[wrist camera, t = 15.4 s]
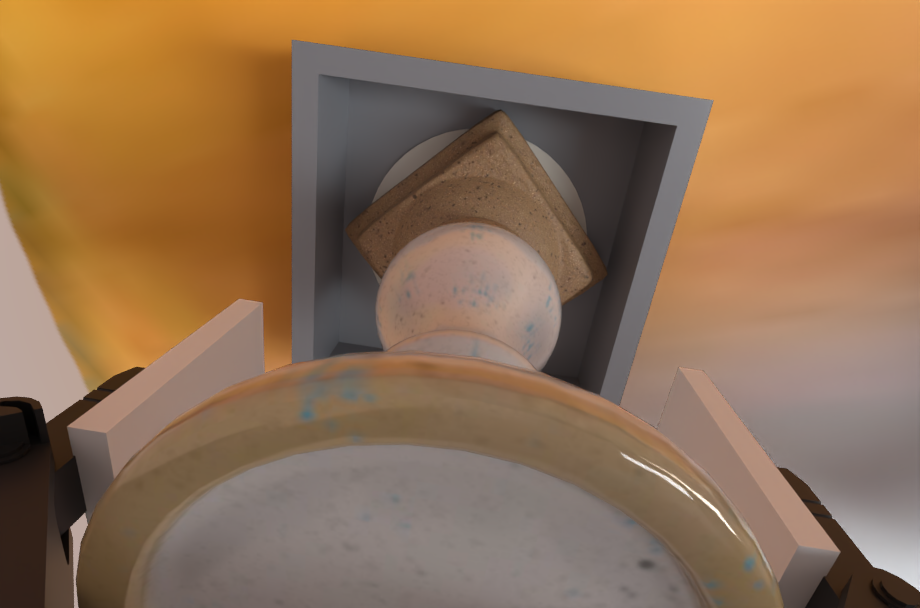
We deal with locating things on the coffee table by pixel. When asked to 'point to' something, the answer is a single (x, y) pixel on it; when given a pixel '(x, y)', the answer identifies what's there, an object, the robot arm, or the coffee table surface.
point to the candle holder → (430, 442)
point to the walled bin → (436, 126)
